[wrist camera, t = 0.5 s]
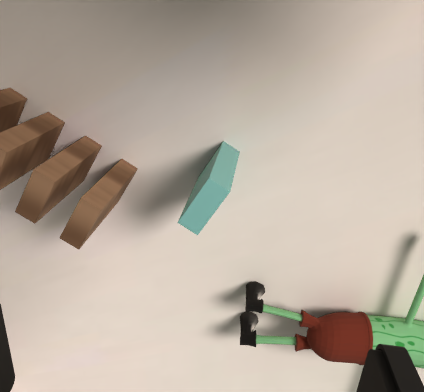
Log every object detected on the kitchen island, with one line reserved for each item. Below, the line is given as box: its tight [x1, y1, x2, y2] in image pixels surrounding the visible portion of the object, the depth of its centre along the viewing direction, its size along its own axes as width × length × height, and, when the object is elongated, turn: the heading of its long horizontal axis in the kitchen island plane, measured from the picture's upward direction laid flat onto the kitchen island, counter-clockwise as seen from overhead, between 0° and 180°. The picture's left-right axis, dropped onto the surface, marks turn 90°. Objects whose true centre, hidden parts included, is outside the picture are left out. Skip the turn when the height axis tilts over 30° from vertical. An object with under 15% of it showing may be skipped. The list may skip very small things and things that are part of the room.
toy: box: [240, 275, 424, 368], centre depth 44 cm, size 28×7×30 cm
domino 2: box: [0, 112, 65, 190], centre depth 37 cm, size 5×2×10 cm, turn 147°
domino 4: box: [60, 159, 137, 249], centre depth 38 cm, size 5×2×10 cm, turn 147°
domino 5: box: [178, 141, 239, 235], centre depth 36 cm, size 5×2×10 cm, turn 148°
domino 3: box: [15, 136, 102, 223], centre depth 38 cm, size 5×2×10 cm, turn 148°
